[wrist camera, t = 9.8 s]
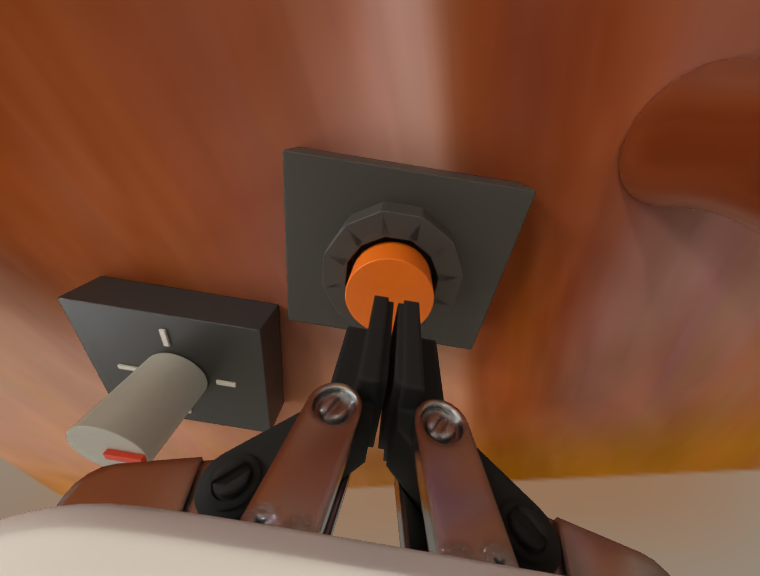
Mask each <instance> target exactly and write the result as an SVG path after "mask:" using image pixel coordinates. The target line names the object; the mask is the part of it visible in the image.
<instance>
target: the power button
mask: <svg viewBox="0 0 760 576" xmlns="http://www.w3.org/2000/svg"><path fill="white" fill-rule="evenodd" d="M375 295H377V296H383V297H389V301H390V302H394V308H393V321H392V330H393V325H394V321H395V316H396V311H397V306H398V303H402V304H403V303H404V300H407V301H413V302H419V306H420V322H421V323H423V322H424V320H425V319H426V318H427V317H428V316H429V314H430V312H431V310H432V307H433V303H434V291H433V285H432V279H431V273H430V268H429V265H428V263H427V261H426V260H425V258H424V257H423V256H422V254H421V253H420V252H418V251H417V250H416V249H414V248H413V247H411V246H409V245H407V244H404V243H400V242H393V241H390V242H381V243H377V244H375V245H372V246H370V247H369V248H367V249H366V250H364V251H363V252H362V253H361V254H360V255H359V257H358V258H357V260H356V262H355V264H354V266H353V269H352V272H351V274H350V277H349V280H348V282H347V285H346V290H345V300H346V304H347V307H348V309H349V311H350V313H351V315H352V316H353V317H354V318H355V320H357V321H358V322H359V323H360V324H361V325H363V326H364V327H366V328H368V326H369V321H370V316H371V311H372V306H373V301H374V296H375ZM391 334H392V333H391Z"/></svg>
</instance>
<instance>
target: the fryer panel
mask: <svg viewBox="0 0 760 576" xmlns="http://www.w3.org/2000/svg"><path fill="white" fill-rule="evenodd" d="M58 300H59V302H60V304H61V306H62V308H63V310H64V311H65V313H66V315H67V317H68V319H69V321H70V323H71V325H72V326H73V328H74V330H75V332H76V334H77V336H78V338H79V339H80V341H81V343H82V345H83V347H84V349H85V351H86V353H87V354H88V356H89V358H90V360H91V362H92V364H93V366H94V367H95V369H96V371H97V373H98V375H99V377H100V379H101V381H102V382H103V384H104V386H105V388H106V390H107V392H108V394H109V393H110V392H111V391H113V390H114V389H115V388H116V387H117V386H118V385H119V384H120V383H121V382H123V381H124V380H125V379H126V378H127V377H128V376H129V375H130V374H131V373H133V372H134V371H135V370H136V369H137V368H138V367H139V366H140V365H141V364H143V363H144V362H145V361H146V360H147V359H148V358H149V357H150V356H152V355H154V354H158V353H171V354H175V355H179V356H181V357H184V358H186V359H188V360H189V361H191V362H193V363H194V364H195V365H197V366H198V367H199V368H200V369H201V370H202V372H203V373H204V374H205V376H206V378H207V383H208V384H207V389H206V390H205V392H204V393H203V394H202V396H201V397H200V398H199V400H198V401H197V402H196V404H195V405H194V406H193V407H192V409H191V410H190V411H189V413H188V414H187V415H186V417H185V418H184V419H188V420H194V421H200V422H207V423H213V424H219V425H225V426H231V427H238V428H244V429H250V430H256V431H262V432H264V431H266V430H268V429H270V428H272V427H273V426H274V424H275V422H276V419H277V417H278V415H279V412H280V410H281V408H282V406H283V403H284V396H283V378H282V360H281V342H280V324H279V307H278V305H277V304H271V303H265V302H258V301H252V300H246V299H240V298H234V297H228V296H221V295H215V294H209V293H203V292H197V291H190V290H184V289H178V288H172V287H166V286H160V285H153V284H147V283H141V282H135V281H129V280H122V279H116V278H110V277H104V276H100V277H98V278H96V279H94V280H92V281H90V282H88V283H86V284H84V285H82V286H80V287H78V288H76V289H74V290H72V291H70V292H68V293H66V294H64V295H62V296H60V297H58Z"/></svg>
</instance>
